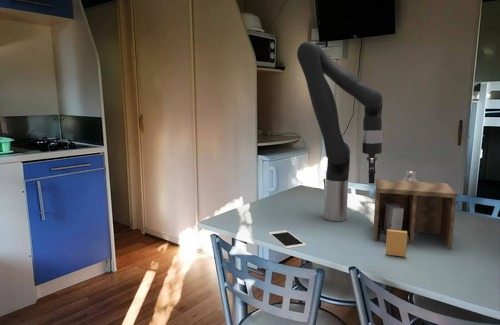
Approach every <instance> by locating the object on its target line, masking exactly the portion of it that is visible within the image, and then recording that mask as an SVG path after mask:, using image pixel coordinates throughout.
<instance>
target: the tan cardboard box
mask: <svg viewBox="0 0 500 325" xmlns="http://www.w3.org/2000/svg"><path fill="white" fill-rule="evenodd" d="M383 231H384V226H383V225H379V228H378V232H379V233H378V234H379V240H380V241H385V243H386V244H385V255H389V256H397V257H405V258H406V257H407V256H406V255H407V243H408V236H407V231H405V228H403V227H402V231H399V230H389V229H387V235H386V234H383Z"/></svg>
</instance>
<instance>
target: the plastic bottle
mask: <svg viewBox="0 0 500 325" xmlns="http://www.w3.org/2000/svg"><path fill="white" fill-rule="evenodd" d="M416 175H417V174H416V170H410V169H407V170H406V171H405V177H404V178H403V179H402V180H401V181H414V182H419V181H418V179H417V178H416Z"/></svg>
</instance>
